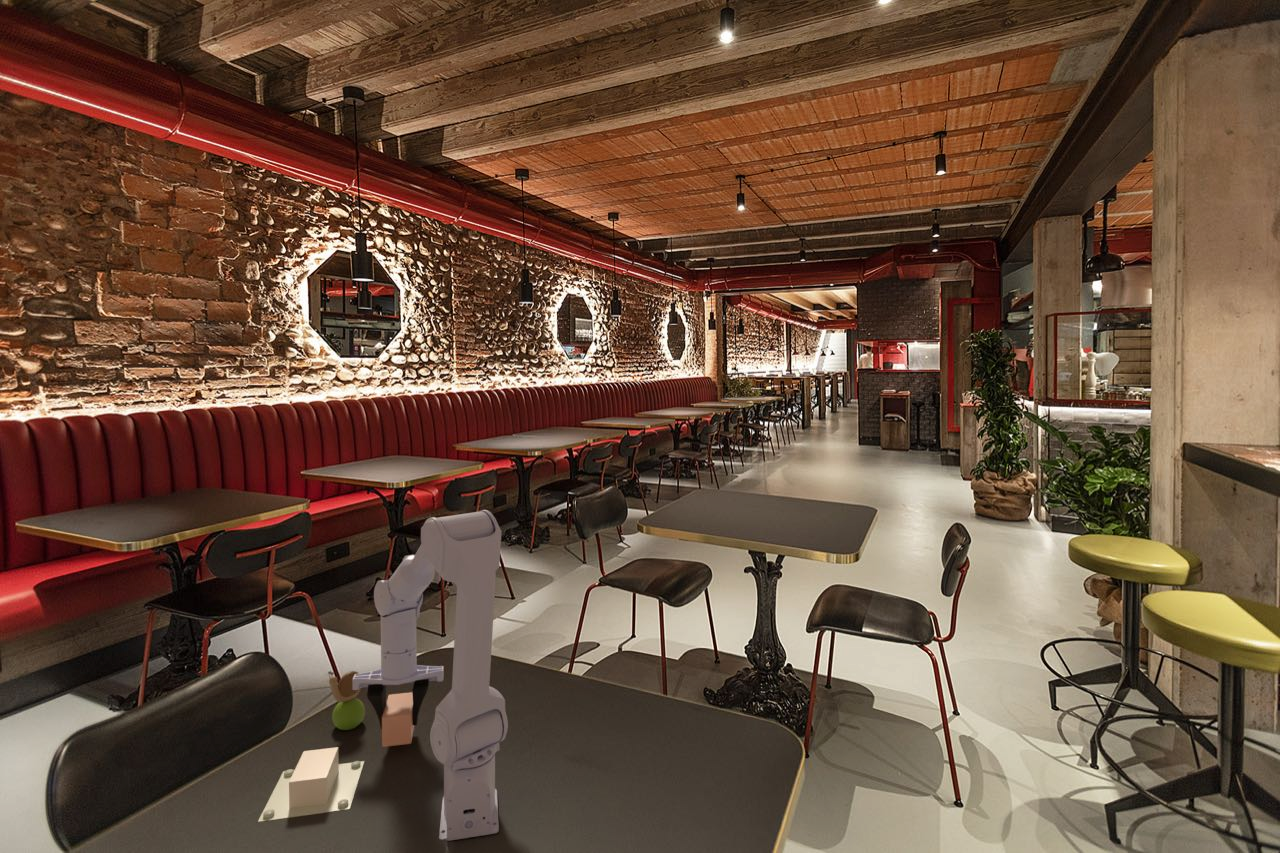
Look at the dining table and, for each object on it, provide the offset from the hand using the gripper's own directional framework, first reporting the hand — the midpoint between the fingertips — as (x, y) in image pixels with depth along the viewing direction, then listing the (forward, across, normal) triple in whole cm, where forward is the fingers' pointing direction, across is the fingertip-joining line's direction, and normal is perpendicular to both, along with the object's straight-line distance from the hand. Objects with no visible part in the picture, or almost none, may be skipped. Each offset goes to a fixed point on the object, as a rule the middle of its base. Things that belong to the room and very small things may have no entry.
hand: (399, 724), depth 108 cm
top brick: (+2, 0, 0) cm, 2 cm away
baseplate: (+4, +11, +10) cm, 15 cm away
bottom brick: (+3, +11, +10) cm, 15 cm away
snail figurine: (+4, +10, -8) cm, 14 cm away
